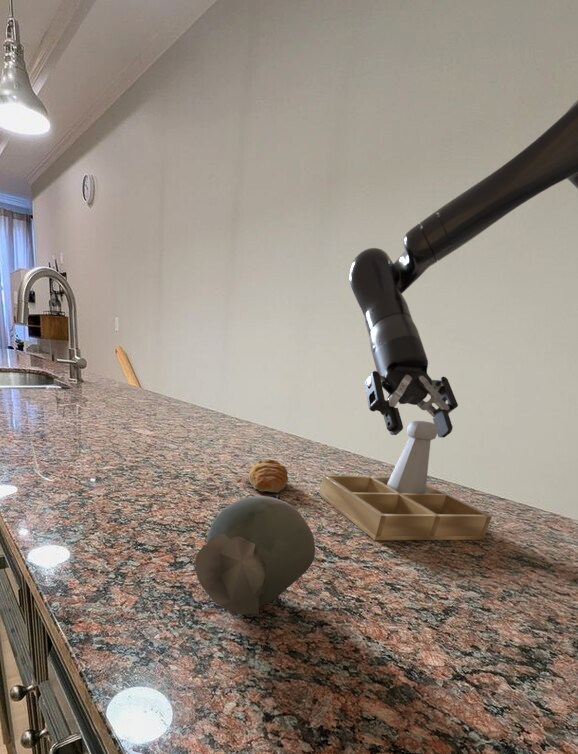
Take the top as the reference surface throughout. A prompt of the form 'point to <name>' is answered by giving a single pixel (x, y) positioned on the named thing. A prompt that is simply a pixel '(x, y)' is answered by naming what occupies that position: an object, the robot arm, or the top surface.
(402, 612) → the top surface
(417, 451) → the salt shaker
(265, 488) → the pastry
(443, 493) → the grid
